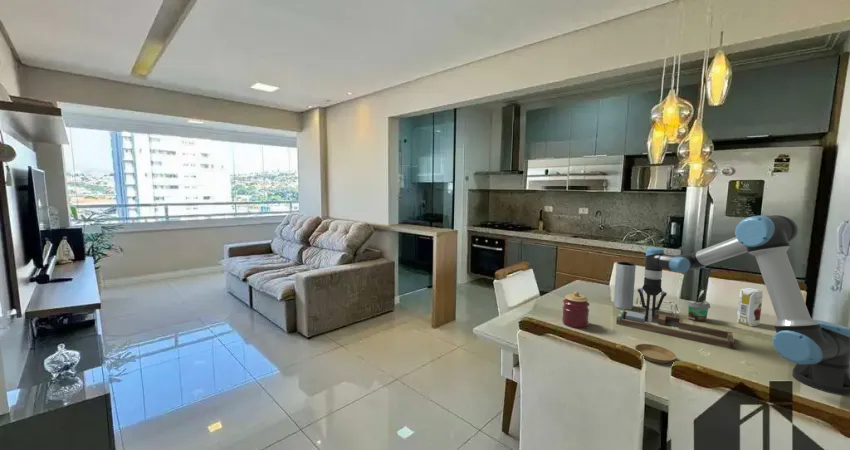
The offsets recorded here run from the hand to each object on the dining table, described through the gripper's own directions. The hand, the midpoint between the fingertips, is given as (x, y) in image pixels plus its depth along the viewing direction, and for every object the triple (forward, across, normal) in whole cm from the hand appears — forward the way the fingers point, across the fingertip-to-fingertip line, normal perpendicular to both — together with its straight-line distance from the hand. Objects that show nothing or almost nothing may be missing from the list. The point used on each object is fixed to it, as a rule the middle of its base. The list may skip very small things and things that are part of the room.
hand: (649, 321), depth 180 cm
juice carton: (+3, -42, -37) cm, 56 cm away
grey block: (+3, +6, 0) cm, 7 cm away
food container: (+3, -21, -27) cm, 35 cm away
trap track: (+3, -9, -4) cm, 10 cm away
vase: (+3, +16, -25) cm, 30 cm away
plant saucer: (+3, -5, +38) cm, 38 cm away
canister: (+3, +32, +21) cm, 38 cm away
